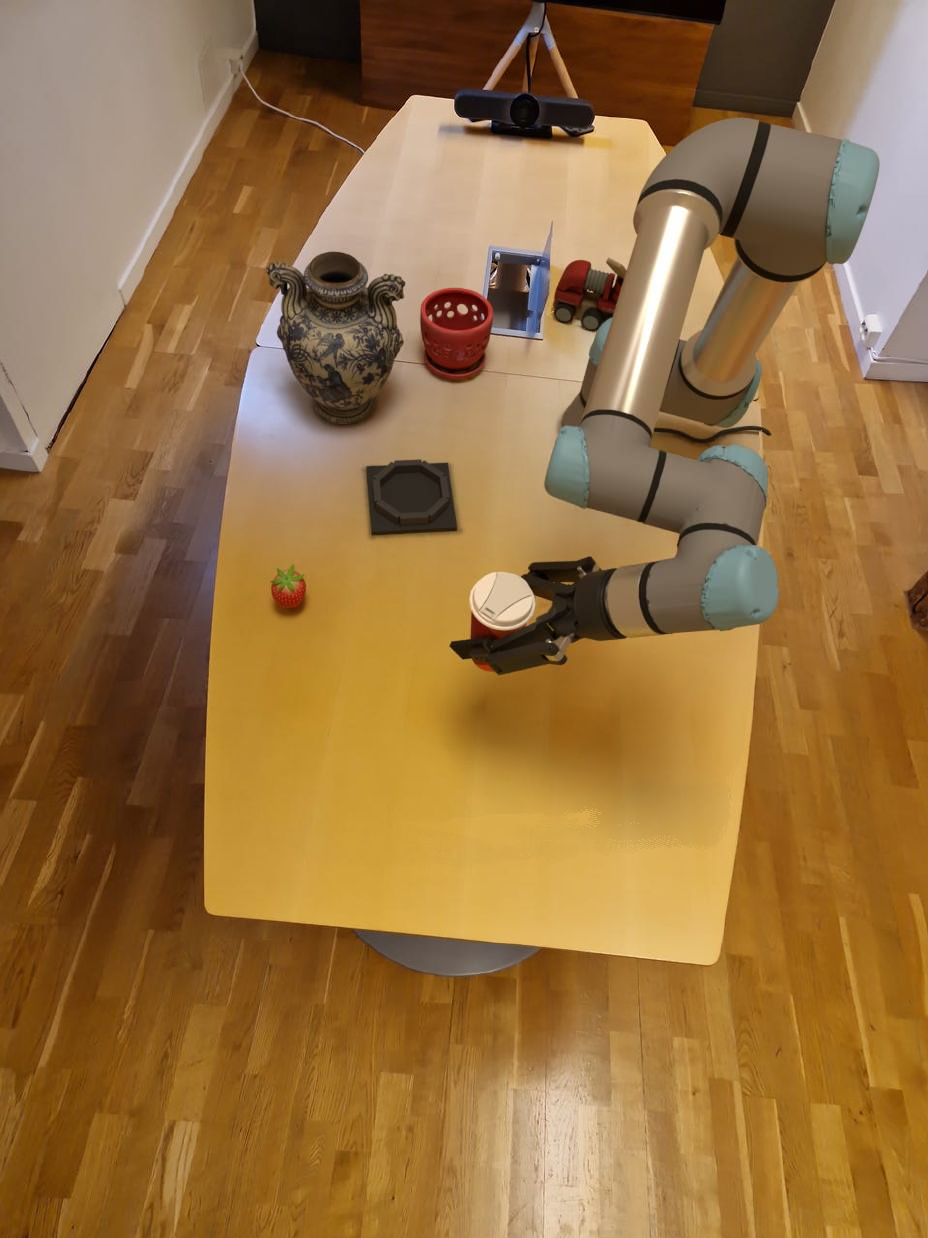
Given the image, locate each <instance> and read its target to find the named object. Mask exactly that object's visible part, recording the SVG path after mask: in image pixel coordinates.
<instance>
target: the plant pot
mask: <svg viewBox="0 0 928 1238" xmlns="http://www.w3.org/2000/svg"><path fill="white" fill-rule="evenodd" d="M448 303H450V304H449V306H448V307H446V306H445V305H446V304H448ZM460 305H464V306H465V307H466V309H467V312H466V313H462V312H460V311H459V309H458V307H459V306H460ZM473 306H474V307H476V310H475V308H473ZM419 311H420V312H419V313H420V314H419V326H420V334H421V340H422V343H423V346H424V350H423V351H424V352H423V359H424V362H425V364H426V366H427V367H428V368H429V369H430V371H432V372H433V373H434V374H435V375H438V376H439V377H443V378H445V379H450V380H463V379H467V378H469V377H470V378H471V377H472V376H474V375H476V374H477V373H478V372H479V371H481V369H482V368H483V367H484V365H485V363H486V352H485V351H486V350H487V348H488V345H489V342H490V338H491V333H492V329H493V322H494V309H493V306H492V304H491V302H490V301H489V300H488V299H487V298H486V297H485V296H484V295H482V294H481V293H479V292H477V291H475V290H473V289H469V288H464V287H447V288H442V289H437V290H435V291H433V292H431V293H430V294H429V295H427V296H426V297H425V298H424V299H423V301H422V302H421V304H420V310H419ZM438 312H441V313H440V315H439V316H438ZM449 312H452V313H453V315H452V316H448V314H449ZM430 316H431V319H430V318H429V317H430ZM475 317H476V318H475Z"/></svg>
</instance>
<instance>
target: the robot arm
mask: <svg viewBox="0 0 928 1238" xmlns="http://www.w3.org/2000/svg"><path fill="white" fill-rule="evenodd" d="M880 166H881V165H880V157H879V155H878V153H877V152H876V151H875V150H874V149H872V148H871V147H868V146H864V145H861V144H858V143H855V142H852V141H851V140H850V139H848V138H843V139H841V138H835V137H831V136H827V135H822V134H817V133H814V132H810V131H805V130H800V129H796V128H791V127H786V126H782V125H778V124H773V123H768V122H764V121H760V120H759V119H756V118H750V117H730V118H725V119H720V120H719V121H714V122H711V123H708V124H707V125H705V126H702V127H701V128H699V129H697V130H696V131H693V132H692V133H690V134H689V135H688V136H686V137H685V138H683V139H682V140H680V142H678V143H677V144H675V146H673V147H672V148H671V150H669V151H668V153H667V154H666V155H665V156H664V157H663V158H662V159H660V161H659V163H658V164H656V166H655V168H654V169H653V170H652V172H650V175H649V176H648V178H647V179H646V181H645V184H644V185H643V188H642V190H641V191H640V194H639V197H638V200H637V203H636V206H635V209H634V213H633V217H632V224H633V229H634V232H635V234H636V238H635V241H634V245H633V248H632V251H631V254H630V257H629V262H628V263H627V264H628V265H627V268H626V270H627V271H626V274H625V278H624V281H623V284H622V288H621V291H620V294H619V298H618V301H617V304H616V308H615V311H614V314H613V318H610V319H608V320H607V321H605V322H604V323H603V324H601V326H600V327H599V329H598V330H596V333H595V335H594V339H593V341H592V343H591V345H590V346H589V347H590V348H589V351H588V356H589V357H588V361H587V365H586V368H585V372H584V375H583V379H582V383H581V387H580V390H579V392H578V394H577V395H576V396H575V397H574V399H573V401H572V402H571V403H570V404H569V405H568V407H567V408H566V409H565V411H564V413H563V415H562V419H561V423H560V429H559V431H558V433H557V436H556V438H555V441H554V444H553V447H552V451H551V454H550V458H549V462H548V465H547V469H546V473H545V477H544V484H543V486H544V489H545V492H546V493H547V494H548V495H549V496H551V497H552V498H555V499H557V500H561V501H563V502H565V503H568V504H571V505H574V506H576V507H579V508H581V509H584V510H585V509H589V510H592V511H593V510H594V511H598V512H601V513H604V514H609V515H612V516H616V517H619V518H623V519H627V520H631V521H635V522H636V523H641V524H643V525H647V526H650V527H652V528H653V527H654V528H656V529H657V528H658V529H660V530H664V531H668V532H671V533H675V534H679V535H678V538H677V539H678V540H677V543H676V549H677V550H676V553H675V555H674V557H670V558H665V559H659V560H656V561H649V562H643V563H636V564H630V565H629V564H628V565H623V566H620V567H613V568H612V567H611V568H607V569H602V568H601V566H600V565H599V564H598V563H597V562H596V560H595V559H594V558H593V557H592V556H586V557H583V558H580V559H577V560H561V561H560V560H556V561H534V562H533V561H532V563H530V564H529V565H528V568H527V569H528V570H529V571H528V572H527V573H524V574H522V575H521V576H520V577H521V578H523V579H524V580H525V581H526V582H527V584H528V585H529V587H530V589H531V590H532V592H533V594H534V597H537V598H541V599H543V600H547V601H550V602H551V606H550V608H549V609H548V610H547V612H545V613H543V614H541V615H538V616H537V617H536V618H535V621H534V622H532V623H530V624H527V625H526V626H525V627H523V628H521V629H519V630H517V631H515V632H513V633H511V634H509V635H506V636H504V637H502V638H500V639H498V640H496V641H494V640H493V639H492V638H491V637H485V638H476V639H470V638H468V639H467V638H466V639H460V640H451V641H450V644H449V646H448V647H449V648H450V649H451V650H452V651H453V652H454V653H455V654H456V655H457V656H458V657H459V658H460V659H461V660H472V659H474V660H475V661H477V662H486V663H487V664H488V665H489V666H490V667H491V668H492V669H493V670H494V671H495V672H494V673H495V674H496V675H498V676H503V675H507V674H511V673H517V672H520V671H526V670H529V669H533V668H538V667H542V666H547V665H555V666H564V665H565V664H566V663H567V662H568V659H569V658H568V657H567V655H566V654H565V653H566V651H567V649H568V648H569V647H570V644H575V643H578V642H579V641H580V640H582V639H587V640H592V641H596V642H606V641H616V640H617V641H618V640H625V639H628V638H629V639H633V638H644V637H645V638H646V637H655V636H665V635H673V634H681V633H683V634H684V633H695V632H709V631H719V632H726V631H731V630H735V629H736V628H737V629H738V628H743V627H744V628H745V627H748V626H757V625H761V624H764V623H765V622H767V621H768V620H769V619H770V618H771V617H772V616H773V615H774V613H775V612H776V610H777V606H778V604H779V597H780V590H779V589H780V588H779V586H778V582H779V574H778V569H777V567H776V564H775V562H774V560H773V558H772V556H771V554H770V553H769V552H768V551H767V550H766V549H765V548H763V547H761V546H759V545H758V543H759V539H760V535H761V529H762V524H763V520H764V519H763V518H764V513H765V511H766V507H767V505H768V504H767V503H768V496H767V495H768V487H769V470H768V466H767V463H766V462H765V460H764V458H762V456H761V455H760V454H758V453H757V452H756V451H754V450H753V449H751V448H749V447H746V446H743V445H738V444H731V445H728V446H724V445H721V444H717V445H713V446H711V447H709V448H707V449H705V450H704V451H702V453H700V454H699V456H698V457H697V459H694V458H690V457H686V456H682V455H679V454H675V453H671V452H667V451H665V450H662V449H656V448H653V447H651V442H652V438H653V435H654V433H662V434H671V435H672V434H673V435H675V436H680V437H682V438H684V439H686V440H688V441H690V442H694V443H697V444H709V443H711V442H714V441H715V440H717V439H718V438H720V437H721V436H723V435H727V434H731V433H738V432H747V431H757V432H760V433H763V434H765V435H766V436H767V437H771V436H772V433H771V431H770V430H769V429H767V428H765V427H763V426H758V425H744V426H737V427H736V425H737V424H738V423H739V422H740V421H741V420H742V419H743V417H744V416H745V414H746V413H747V411H748V410H749V407H750V404H751V403H752V402H753V400H754V399H755V396H756V394H757V392H758V389H759V386H760V383H761V379H762V373H763V367H762V364H761V362H760V361H759V360H758V357H757V353H758V352H759V349H760V348H761V346H762V344H763V342H764V341H765V340H766V338H767V336H768V335H769V333H770V331H771V330H772V328H773V326H774V325H775V323H776V321H777V320H778V318H779V317H780V315H781V313H782V312H783V310H784V308H785V306H786V305H787V303H788V302H789V300H790V298H791V296H792V295H793V293H794V292H795V290H796V288H797V287H798V285H799V283H802V282H804V281H806V280H809V279H811V278H813V277H815V275H817V274H818V273H819V272H820V271H821V270H822V269H823V267H824V266H825V265H826V263H827V264H828V265H831V266H832V265H843V264H845V263H847V262H848V261H849V260H850V259H851V257H852V255H853V252H854V251H855V249H856V246H857V243H858V241H859V239H860V236H861V233H862V231H863V228H864V225H865V222H866V219H867V217H868V213H869V211H870V208H871V204H872V200H873V197H874V194H875V190H876V186H877V183H878V177H879V174H880ZM719 235H720V236H723V237H725V238H726V237H727V238H729V239H733V244H734V249H735V252H736V253H735V254H736V257H735V258H734V261H733V263H732V265H731V267H730V270H729V272H728V274H727V276H726V279H725V280H724V282H723V285H722V287H721V289H720V291H719V293H718V296H717V297H716V300H715V302H714V304H713V306H712V309H711V311H710V313H709V315H708V317H707V319H706V321H705V324H704V326H703V328H702V329H700V330H698V331H697V332H695V333H694V334H693V335H691V336H690V337H689V338H688V339H687V340H684V339H682V338H681V334H682V332H683V327H684V325H685V320H686V317H687V314H688V309H689V307H690V302H691V299H692V296H693V291H694V288H695V285H696V281H697V278H698V274H699V271H700V268H701V263H702V260H703V256H704V252H705V251H706V250H707V249H708V248H710V247H711V246H712V245H713V244H714V243H715V241H716V240H717V238H718V236H719ZM680 338H681V339H680ZM659 413H664V414H666V415H667V414H668V415H670V416H676V417H678V418H682V419H685V420H691V421H693V422H697V423H700V424H704V425H705V426H708V427H717V428H721V429H722V428H723V429H722V430H720V431H718V432H716V433H715V434H713V435H712V436H710V437H708V438H707V437H706V438H698V437H696V436H692V435H690V434H688V433H687V432H684V431H681V430H677V429H673V428H666V427H656V424H657V420H658V417H659ZM734 426H735V427H734ZM761 430H762V431H761ZM570 583H571V584H570Z"/></svg>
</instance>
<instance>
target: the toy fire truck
mask: <svg viewBox="0 0 928 1238" xmlns="http://www.w3.org/2000/svg"><path fill="white" fill-rule="evenodd" d="M605 263H606V264H607V266H608V267H609V268H610V269H611V270H612V272H613V273H612V272H610V273H609V272H605V271H601V270H597V269H593V268H592V262H590V261H589V260H585V259H576V260H573V261H571V262H570V263H569V264H568V265H567V266H566V267H565V268H564V270H563V272H562V275H561V276H560V279H559V281H558V283H557V286H556V288H555V291H554V295H553V305H552V306H553V307H552V308H553V309H554V311H553V316H554V318H555V319H556V321H557V322H559V323H561V324H569V323H571V322H572V321H573V319H574V318H578V319H580V324H581V326H582V328H583V329H584V330H586V331H588V332H597V331H598V329H599V327H600V326H601V325H602V324H603V323H604V322H605V321H607V320H608V319H610V318H613V314H614V311H615V308H616V304H617V301H618V298H619V294H620V291H621V288H622V284H623V281H624V278H625V274H626V271H627V268H626V267H625V266H624V265H623V264H622V263H620V262H618V261H616V260H614V259H612V258H611V257H607V259H606V261H605Z"/></svg>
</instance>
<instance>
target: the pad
mask: <svg viewBox="0 0 928 1238" xmlns="http://www.w3.org/2000/svg"><path fill="white" fill-rule="evenodd" d="M365 468H366V480H367V481H366V482H367V495H368V507H369V518H370V530H371V531H370V532H371V536H383V535H401V534H402V535H403V534H420V533H423V534H424V533H439V532H440V533H441V532H456V531H458V524H457V518H456V510H455V503H454V497H453V490H452V489H453V488H452V483H451V476H450V475H451V474H450V471H449V463H448V462H430V463H429V462H428V461H426V460H423V461H422V459H399V460H396V459H395V460H394V461H390V462H389V463H388V464H385V465H366V467H365Z"/></svg>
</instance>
